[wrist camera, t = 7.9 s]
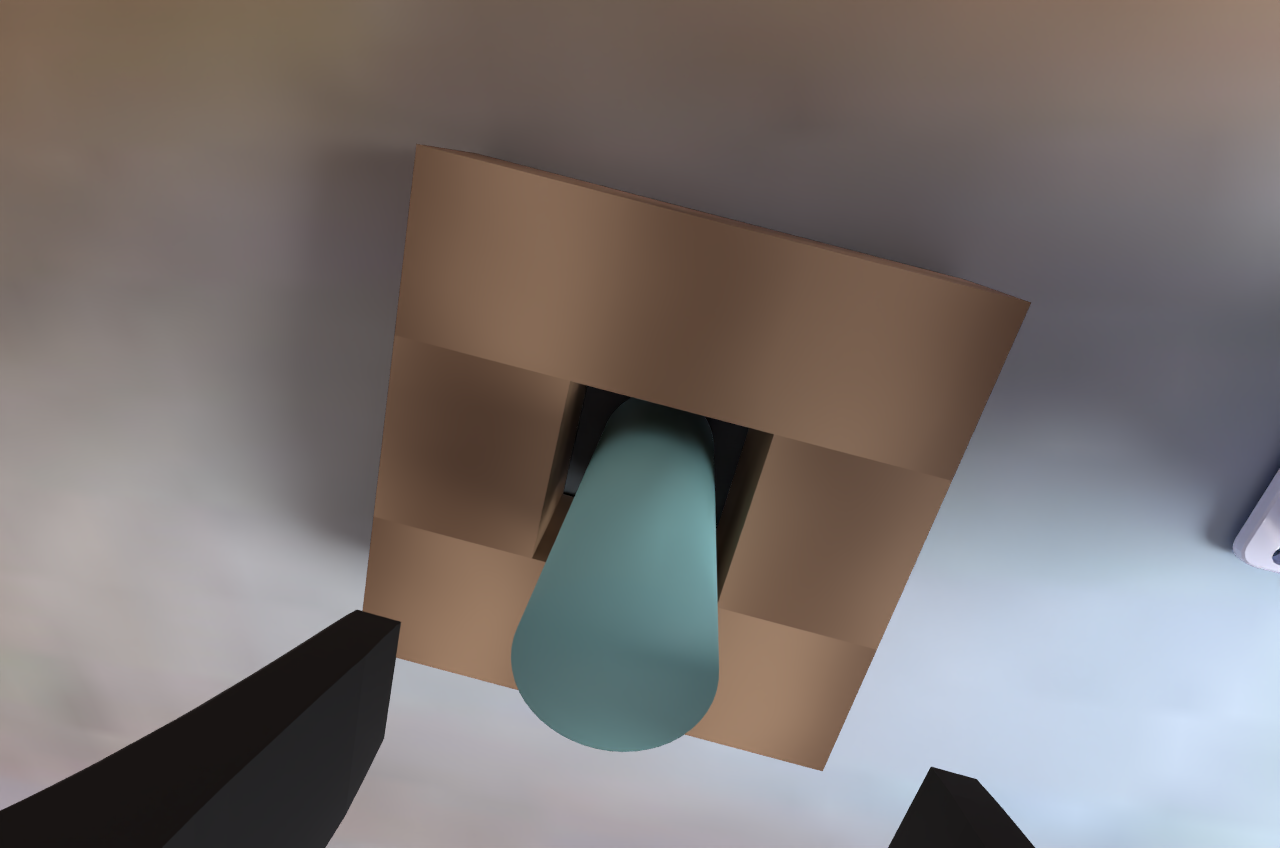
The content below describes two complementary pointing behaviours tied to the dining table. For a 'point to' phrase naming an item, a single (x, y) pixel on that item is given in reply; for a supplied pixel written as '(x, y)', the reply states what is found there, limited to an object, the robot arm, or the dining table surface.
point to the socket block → (682, 379)
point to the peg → (629, 590)
